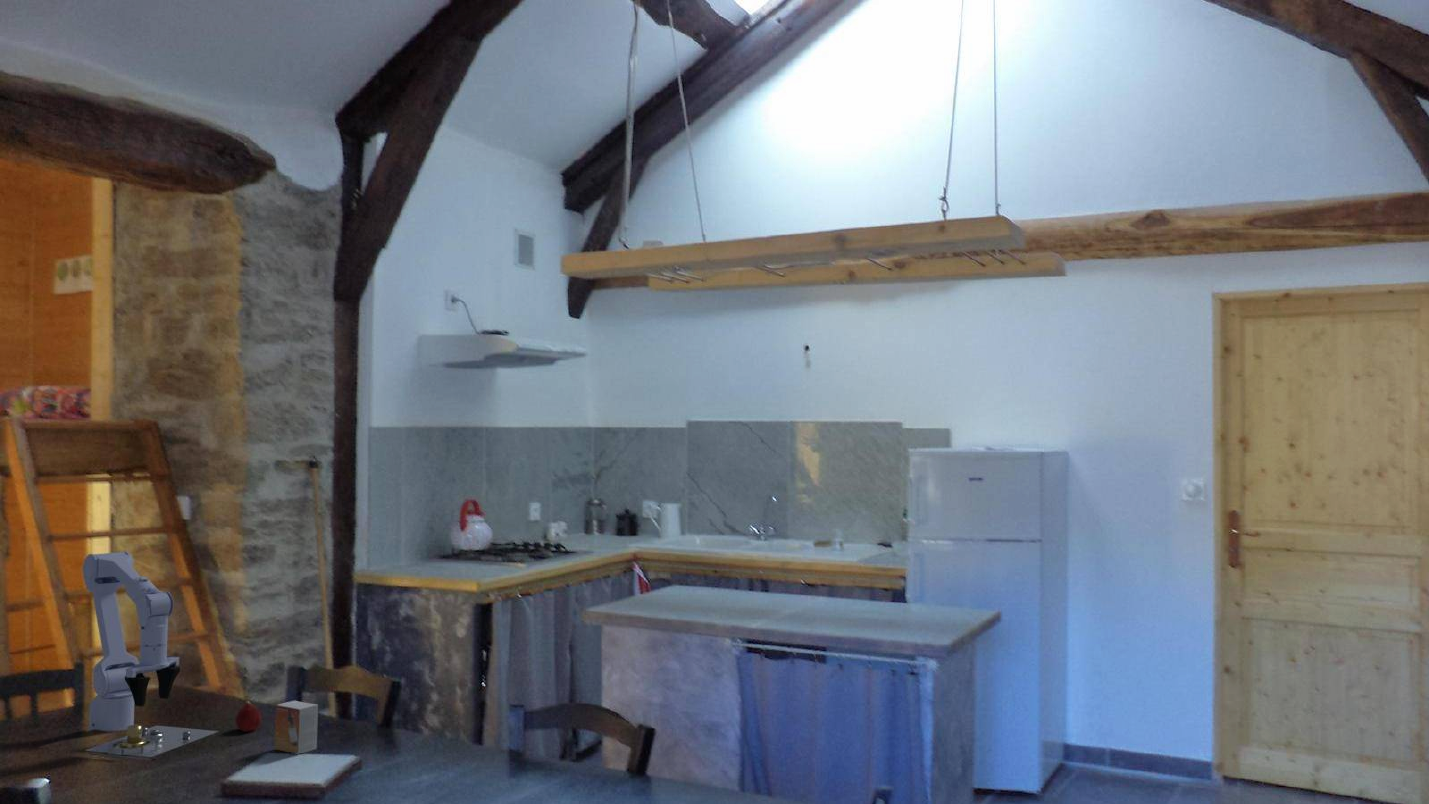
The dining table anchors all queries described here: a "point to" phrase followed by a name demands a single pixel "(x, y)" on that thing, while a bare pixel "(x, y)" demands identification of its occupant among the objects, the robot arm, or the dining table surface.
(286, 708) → the small box
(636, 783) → the dining table surface
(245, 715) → the onion
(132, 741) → the gear
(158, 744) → the carrier plate
